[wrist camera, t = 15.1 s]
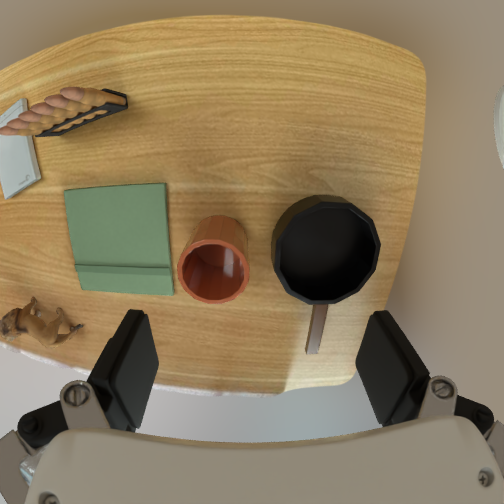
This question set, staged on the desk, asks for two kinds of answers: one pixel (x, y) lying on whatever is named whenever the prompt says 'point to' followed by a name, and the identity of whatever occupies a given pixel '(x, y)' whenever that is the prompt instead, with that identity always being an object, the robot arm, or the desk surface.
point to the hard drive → (16, 156)
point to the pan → (323, 255)
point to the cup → (215, 261)
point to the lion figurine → (34, 326)
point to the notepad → (121, 238)
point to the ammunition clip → (66, 112)
